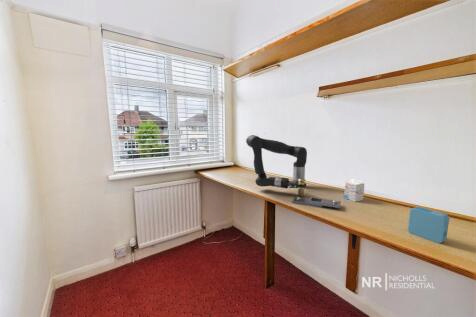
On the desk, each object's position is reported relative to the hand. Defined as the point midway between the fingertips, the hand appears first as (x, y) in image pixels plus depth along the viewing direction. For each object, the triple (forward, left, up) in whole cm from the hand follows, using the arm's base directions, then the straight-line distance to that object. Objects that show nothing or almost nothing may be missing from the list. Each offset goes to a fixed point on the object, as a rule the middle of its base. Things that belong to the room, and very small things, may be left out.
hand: (305, 185), depth 145 cm
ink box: (-10, +30, -8) cm, 33 cm away
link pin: (0, -3, -8) cm, 8 cm away
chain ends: (+12, +9, -8) cm, 17 cm away
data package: (+31, +58, -8) cm, 67 cm away
